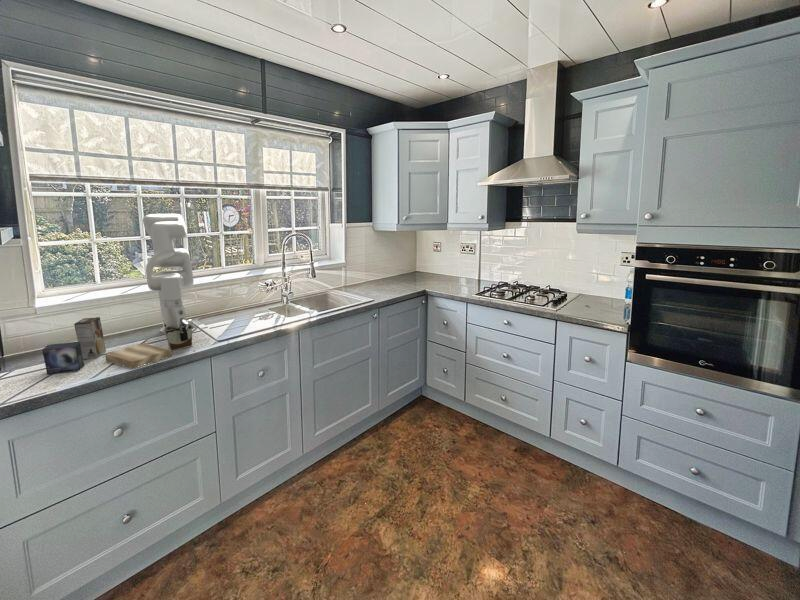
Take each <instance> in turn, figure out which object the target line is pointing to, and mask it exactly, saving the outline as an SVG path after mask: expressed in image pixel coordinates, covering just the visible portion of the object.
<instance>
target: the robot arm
mask: <svg viewBox="0 0 800 600" xmlns="http://www.w3.org/2000/svg"><path fill="white" fill-rule="evenodd" d="M142 223H143V227H144V229H145V231H146V233H147V235H148V236H149V238H150V240H151V243H152V249H153V255H152V256H151V257H150V258H149V259H148V261H147V263H146V266H145V276H146V283H147V287H148V289H149V290H150V291H153V292H157V294H158V299H159V307H160V313H161V321H162V328H160V329H159V330H160V333H163V334H164V330H165V328H167V327H171V328H176V329H179V331H180V332H181V333H180V339H181V342H183V341H186V340H188V335H187V332H188V326H189V324H192V323H193V319H191V318H190V319H187V314H186V311H185V307H184V305H183V299H182V290H181V289H184V288H191V287H192V286H193V285H194V275H193V267H192V261H191V255H190V252H189V251H188V250H187V249H185V248H175V244H174V240H184V239H186V237H187V228H186V227H187V226H186V224H185V220H184V217H183V216H182V215H181V214H179V213H152V214H147V215H144V216H143V218H142ZM156 266H157V267H158V268H161V269H162V268H163V269H168V270H161V271H158V272H156V273H155V274H154V268H155V267H156ZM171 268H181V269H175V270H174V269H171ZM169 269H170V270H169ZM181 328H183V329H181Z"/></svg>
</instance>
